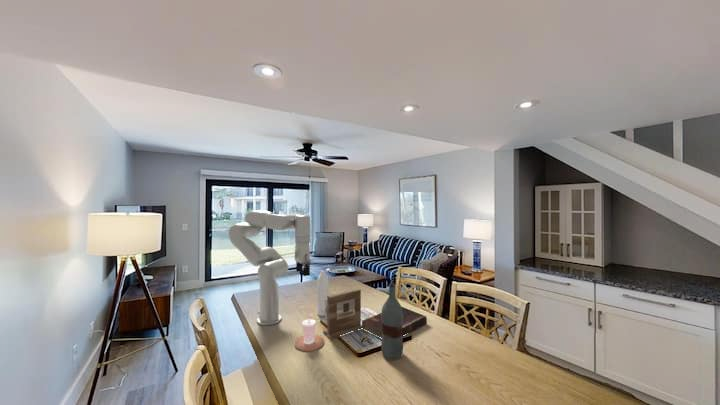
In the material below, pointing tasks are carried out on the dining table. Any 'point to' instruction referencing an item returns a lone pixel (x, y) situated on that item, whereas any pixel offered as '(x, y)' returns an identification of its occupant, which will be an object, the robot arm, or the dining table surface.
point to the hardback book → (409, 324)
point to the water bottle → (322, 292)
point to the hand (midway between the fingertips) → (302, 273)
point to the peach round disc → (309, 347)
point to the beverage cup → (308, 330)
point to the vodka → (392, 326)
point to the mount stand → (342, 313)
